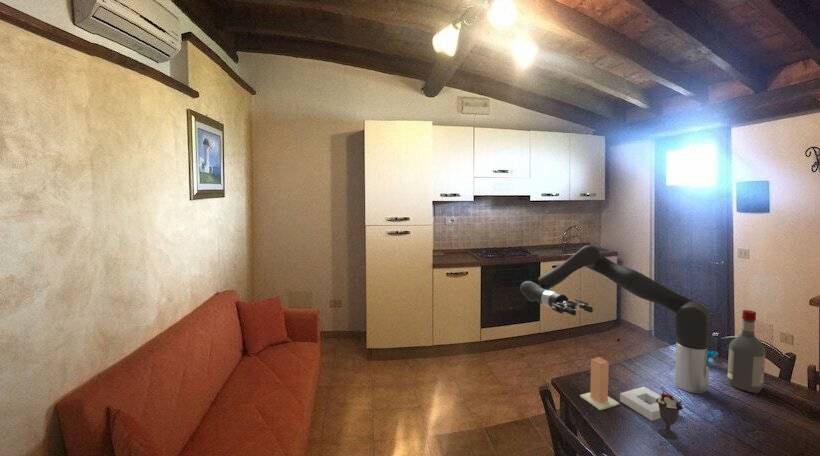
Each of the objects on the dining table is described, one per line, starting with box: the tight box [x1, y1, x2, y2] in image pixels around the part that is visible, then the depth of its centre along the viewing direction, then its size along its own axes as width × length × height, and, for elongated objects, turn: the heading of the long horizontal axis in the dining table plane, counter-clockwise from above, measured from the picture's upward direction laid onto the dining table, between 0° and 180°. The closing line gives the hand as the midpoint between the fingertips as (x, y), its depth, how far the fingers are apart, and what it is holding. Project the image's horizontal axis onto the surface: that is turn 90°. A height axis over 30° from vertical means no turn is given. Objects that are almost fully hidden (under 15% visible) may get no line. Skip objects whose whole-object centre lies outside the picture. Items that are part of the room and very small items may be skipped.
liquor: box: [726, 309, 766, 394], centre depth 131 cm, size 9×9×30 cm
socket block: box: [619, 386, 661, 422], centre depth 121 cm, size 12×12×3 cm
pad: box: [579, 391, 620, 411], centre depth 126 cm, size 9×9×1 cm
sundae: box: [656, 386, 684, 440], centre depth 107 cm, size 7×7×15 cm
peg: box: [589, 356, 610, 403], centre depth 125 cm, size 4×4×15 cm
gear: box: [706, 350, 719, 368], centre depth 148 cm, size 11×6×10 cm
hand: (583, 311), depth 135 cm, fingers open, 8 cm apart
